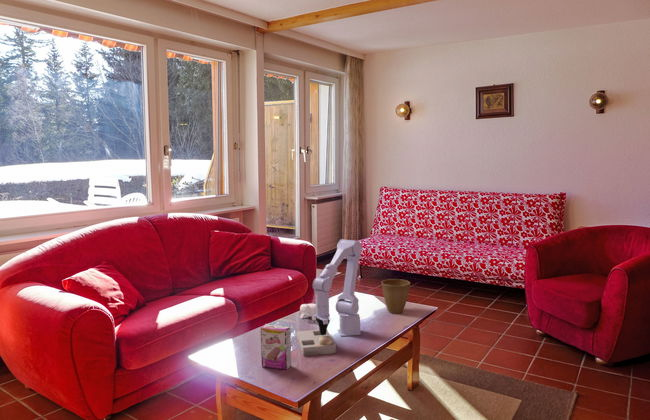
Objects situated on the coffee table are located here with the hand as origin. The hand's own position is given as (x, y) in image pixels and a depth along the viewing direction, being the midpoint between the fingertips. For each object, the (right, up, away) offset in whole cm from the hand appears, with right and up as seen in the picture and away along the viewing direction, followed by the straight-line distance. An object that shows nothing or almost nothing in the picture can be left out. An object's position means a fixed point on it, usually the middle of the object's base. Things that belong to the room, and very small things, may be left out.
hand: (323, 334), depth 224 cm
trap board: (-4, -5, +2) cm, 6 cm away
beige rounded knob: (+1, -4, -5) cm, 6 cm away
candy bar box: (-19, -8, -20) cm, 29 cm away
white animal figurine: (-7, -1, +38) cm, 38 cm away
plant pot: (+38, +1, +45) cm, 60 cm away
